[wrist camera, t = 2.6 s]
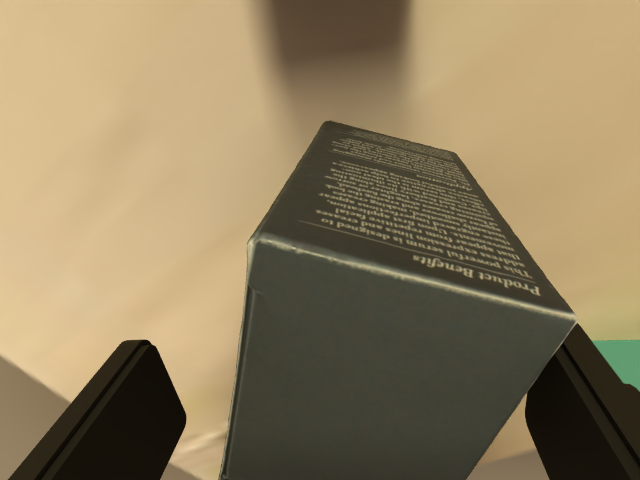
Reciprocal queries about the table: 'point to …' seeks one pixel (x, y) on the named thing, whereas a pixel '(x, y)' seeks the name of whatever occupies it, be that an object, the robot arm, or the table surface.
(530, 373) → the box
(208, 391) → the table surface
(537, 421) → the robot arm
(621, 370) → the teal cube
